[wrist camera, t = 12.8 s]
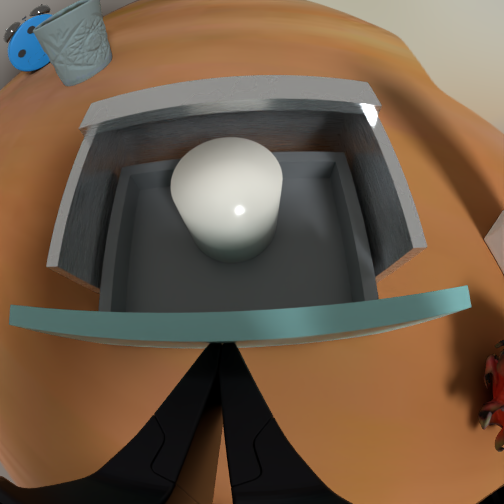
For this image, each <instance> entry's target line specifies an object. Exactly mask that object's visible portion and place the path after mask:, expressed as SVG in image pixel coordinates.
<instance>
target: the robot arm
mask: <svg viewBox="0 0 504 504" xmlns="http://www.w3.org/2000/svg"><path fill="white" fill-rule="evenodd" d="M222 427H224V436H225V445H226V453H227V461H228V469H229V477H230V484H231V491H232V499H233V504H352V503H350V502H349V501H347V500H345V499H344V498H342V497H340V496H339V495H337V494H336V493H334V492H333V491H332V490H331V489H330V488H328V487H327V486H326V485H325V484H324V483H323V482H322V481H321V480H320V478H319V477H318V476H317V475H316V474H315V473H314V472H313V471H312V469H311V468H310V467H309V466H308V465H307V464H306V462H305V461H304V460H303V459H302V458H301V457H300V455H299V454H298V453H297V452H296V450H295V449H294V448H293V446H292V445H291V444H290V442H289V441H288V440H287V438H286V437H285V435H284V433H283V432H282V430H281V429H280V427H279V425H278V423H277V422H276V420H275V418H273V415H272V413H271V411H270V409H269V407H268V406H267V404H266V402H265V400H264V398H263V396H262V394H261V392H260V391H259V389H258V387H257V385H256V383H255V381H254V379H253V377H252V375H251V373H250V371H249V369H248V367H247V365H246V363H245V361H244V359H243V357H242V355H241V353H240V351H239V349H238V347H237V345H236V344H235V343H223V344H221V343H210V344H208V346H207V347H206V348H205V350H204V351H203V352H202V353H201V355H200V356H199V357H198V359H197V360H196V361H195V363H194V364H193V365H192V366H191V368H190V369H189V370H188V372H187V373H186V374H185V375H184V377H183V378H182V379H181V381H180V382H179V383H178V384H177V386H176V387H175V388H174V389H173V391H172V392H171V393H170V395H169V396H168V397H167V398H166V400H165V401H164V402H163V403H162V405H161V406H160V407H159V408H158V410H157V411H156V412H155V414H154V415H153V416H152V417H151V418H150V420H149V421H148V422H147V423H146V424H145V426H144V427H143V428H142V429H141V430H140V431H139V433H138V434H137V435H136V436H135V437H134V438H133V439H132V440H131V441H130V442H129V443H128V444H127V445H126V446H125V447H124V448H122V449H121V450H120V451H119V452H118V453H117V454H116V455H115V456H114V457H113V458H112V459H110V460H109V461H108V462H107V463H106V464H105V465H104V466H103V467H102V468H100V469H99V470H98V471H96V472H95V473H93V474H91V475H90V476H87V477H85V478H82V479H78V480H74V481H70V482H65V483H60V484H56V485H50V486H45V487H39V488H21V487H18V486H16V485H15V484H13V483H12V482H10V481H9V480H7V479H6V478H4V477H2V476H0V504H212V502H213V495H214V487H215V480H216V472H217V464H218V457H219V449H220V442H221V435H222ZM476 504H504V484H503V485H502V486H500V487H499V488H498V489H496V490H495V491H493V492H492V493H490V494H489V495H487V496H486V497H485V498H483V499H482V500H480V501H479V502H478V503H476Z"/></svg>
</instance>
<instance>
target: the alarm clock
mask: <svg viewBox="0 0 504 504" xmlns="http://www.w3.org/2000/svg"><path fill="white" fill-rule="evenodd" d="M50 11H51V9H50V7H49V6H47V5H41V6H38V7H36V8H34V9H33V10H32V11H31V13H30V16H35V15H39V16H35V17H33V18H30V19H29V20H27V21H25V22H24V23H23V24H22V25H21V26H19V24H20V22H15V23H13V24H12V25H11V26H9V28H8V29H6V33H5V34H4V42H6V43H8V41H9V40H10V38H11V40H10V42H9V46H8V57H9V60H10V62H11V63H12V65H13V66H14V67H15V68H17V69H18V70H21V71H32V72H33V71H34V70H37V69H39V68H42V67H43V66H45V65H46V64H48V63H49V62H50V60H49V57H48V55H47V54H46V53H45V52H44V50H43V49H42V47H41V45H40V43H39V41H38V40H37V38H36V36H35V34H34V33H33V30H34V29H35V28H36V27H37V26H38V25H39V24H41V23H42V22H43V21H45V20H46V19H48V18H49V17H51V16H52V15H50V14H44V13H49V12H50ZM40 14H43V15H40ZM25 18H26V17H24V18H23V19H25ZM23 19H22V20H23ZM18 26H19V27H18ZM16 29H17V30H16Z"/></svg>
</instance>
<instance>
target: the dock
mask: <svg viewBox="0 0 504 504" xmlns="http://www.w3.org/2000/svg"><path fill="white" fill-rule="evenodd" d="M381 107H382V106H381V104H380V102H379V100H378V99H377V97H376V95H375V93H374V92H373V90H372V88H371V87H370V85H369V84H368V82H362V81H355V80H347V79H338V78H327V77H314V76H293V75H257V76H235V77H222V78H211V79H202V80H194V81H187V82H180V83H174V84H168V85H163V86H158V87H153V88H148V89H143V90H139V91H134V92H130V93H126V94H122V95H118V96H115V97H111V98H108V99H104V100H101V101H98V102H94V103H92V104H91V106H90V107H89V109H88V111H87V113H86V115H85V117H84V119H83V121H82V123H81V125H80V127H79V130H80V131H81V133H82V134H83V136H84V139H83V142H82V144H81V147H80V149H79V152H78V154H77V157H76V159H75V162H74V165H73V167H72V170H71V173H70V176H69V179H68V182H67V185H66V188H65V191H64V194H63V197H62V201H61V204H60V208H59V211H58V215H57V219H56V223H55V227H54V231H53V235H52V240H51V244H50V249H49V254H48V260H47V265H46V267H47V268H49V269H51V270H53V271H55V272H57V273H58V274H60V275H62V276H64V277H66V278H68V279H70V280H72V281H74V282H76V283H78V284H80V285H82V286H84V287H86V288H88V289H90V290H92V291H94V292H96V293H98V294H100V287H101V277H102V268H103V260H104V253H105V246H106V240H107V234H108V228H109V222H110V217H111V212H112V207H113V202H114V198H115V193H116V189H117V185H118V180H119V176H120V173H121V169H122V167H126V166H132V165H138V164H144V163H151V162H158V161H165V160H173V159H181V158H183V157H184V156H185V155H186V154H187V153H188V152H189V151H190V150H192V149H193V148H195V147H196V146H198V145H200V144H202V143H205V142H207V141H210V140H213V139H218V138H225V137H237V138H244V139H248V140H252V141H254V142H257V143H259V144H260V145H262V146H264V147H265V148H267V149H268V150H269V151H270V152H344V153H345V156H346V159H347V162H348V165H349V168H350V172H351V175H352V179H353V182H354V186H355V189H356V193H357V197H358V200H359V204H360V208H361V212H362V216H363V220H364V225H365V229H366V233H367V238H368V243H369V247H370V252H371V257H372V263H373V268H374V274H375V279H376V283H378V282H379V281H381V280H382V279H384V278H385V277H387V276H388V275H390V274H391V273H393V272H394V271H395V270H397V269H398V268H400V267H401V266H402V265H404V264H405V263H407V262H408V261H409V260H411V259H412V258H414V257H415V256H416V255H418V254H419V253H420V252H422V251H423V250H424V249H426V248H427V244H426V241H425V237H424V233H423V230H422V226H421V223H420V220H419V216H418V213H417V210H416V207H415V204H414V201H413V198H412V195H411V192H410V189H409V187H408V184H407V181H406V179H405V176H404V173H403V171H402V168H401V166H400V163H399V161H398V159H397V156H396V154H395V152H394V149H393V147H392V145H391V143H390V140H389V138H388V136H387V134H386V132H385V130H384V128H383V126H382V124H381V122H380V120H379V118H378V114H379V112H380V109H381Z"/></svg>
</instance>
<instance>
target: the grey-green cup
mask: <svg viewBox="0 0 504 504" xmlns="http://www.w3.org/2000/svg"><path fill="white" fill-rule="evenodd" d="M105 29H106V28H105V25H104V22H103V16H102V12H101V4H100V0H80V1H78V2H76V3H74V4H72V5H70V6H68V7H66V8H64V9H62V10H61V11H59V12H58V13H56V14H54V15H52V16H51V17H49V18H48V19H46V20H45V21H43V22H42V23H41V24H39V25H38V26H37V27H36V28H35V29H34V30H33V33H34V34H35V36H36V38H37V40H38V41H39V43H40V45H41V47H42V49H43V50H44V52H45V53H46V54H47V55H48V57H49V60H50V62H51V63H52V64H53V66H54V67H55V70H56V72H57V74H58V76H59V78H60V79H61V81H62V82H63V84H64V85H65V86H73V85H76V84H79V83H81V82H83V81H85V80H87V79H89V78H91V77H92V76H94V75H95V74H97V73H98V72H100V71H101V70H102V69H104V68H105V67H106V66H107V65H108V64H109V63H110V62H111V60H112V53H111V49H110V45H109V42H108V39H107V33H106V30H105Z"/></svg>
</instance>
